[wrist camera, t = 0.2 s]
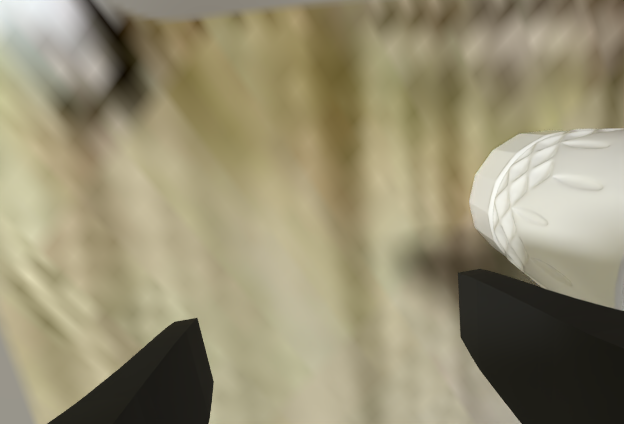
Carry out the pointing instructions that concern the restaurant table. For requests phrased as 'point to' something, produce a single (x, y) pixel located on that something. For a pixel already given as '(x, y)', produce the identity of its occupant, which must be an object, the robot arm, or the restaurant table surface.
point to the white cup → (558, 210)
